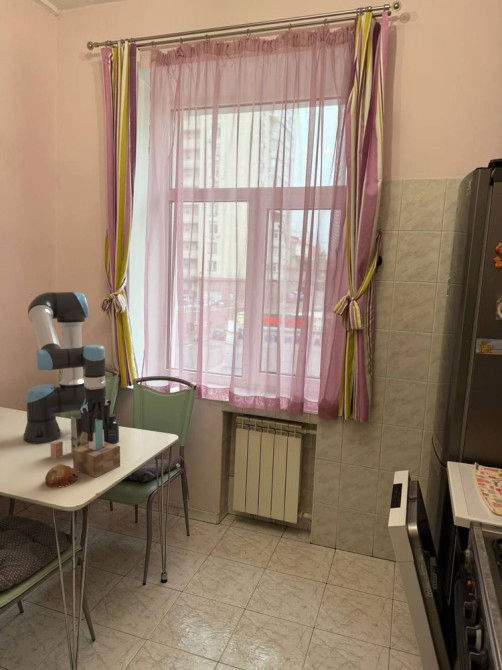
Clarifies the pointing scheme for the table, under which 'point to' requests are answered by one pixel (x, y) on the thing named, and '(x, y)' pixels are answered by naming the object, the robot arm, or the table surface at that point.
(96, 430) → the long peg
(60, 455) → the short peg
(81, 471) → the hole block
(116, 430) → the supplement bottle
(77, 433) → the coffee box
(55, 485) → the bread roll
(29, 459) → the table surface
